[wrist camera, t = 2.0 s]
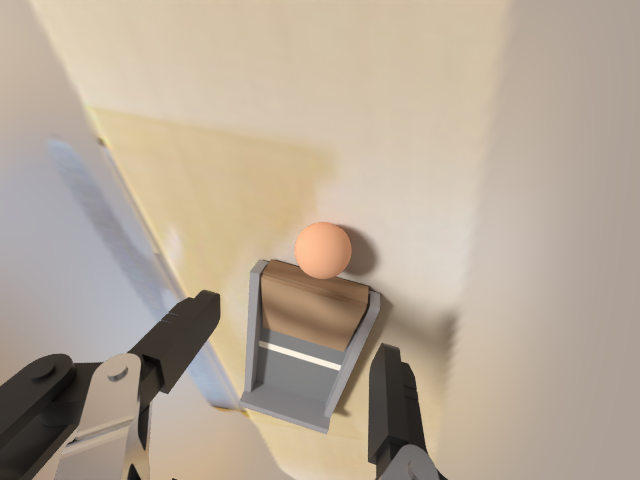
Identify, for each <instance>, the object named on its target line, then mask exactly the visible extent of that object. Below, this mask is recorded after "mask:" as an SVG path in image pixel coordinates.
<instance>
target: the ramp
mask: <svg viewBox="0 0 640 480" xmlns="http://www.w3.org/2000/svg"><path fill="white" fill-rule="evenodd" d="M261 287H262V312H263V328H266V329H269V330H272V331H276V332H279V333H282V334H286V335H289V336H292V337H296V338H299V339H302V340H306V341H309V342H312V343H315V344H319V345H322V346H325V347H329V348H332V349H335V350H339V351H342V352H344V350H345V348H346V347H347V345H348V343H349V341H350V339H351V337H352V335H353V333H354V331H355V329H356V327H357V325H358V324H359V322H360V320H361V318H362V316H363V314H364V312H365V310H366V307H367V303H368V288H369V286H365V285H362V284H358V283H355V282H351V281H347V280H344V279H340V278H337V277H332V278H329V279H318V278H314V277H311V276H309V275H308V274H306V273H305V272H304V271H303V270H302V269H301V268H300V267H297V266H294V265H290V264H287V263H283V262H280V261H276V260H272V259H271V261H270V262H269V264H268V265H267V267H266V268H265V270H264V271H263V276H262V278H261Z"/></svg>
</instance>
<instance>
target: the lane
mask: <svg viewBox="0 0 640 480" xmlns="http://www.w3.org/2000/svg"><path fill="white" fill-rule="evenodd" d="M268 264H269V262H266V261H263V260H258V262H257V263H256V265H255V266H254V267H253V269H252V270H251V271H250V285H249V306H248V327H247V347H246V368H245V388H244V392H243V395H242V397H241V399H240V406H242V407H245V408H248V409H251V410H254V411H257V412H260V413H263V414H266V415H269V416H272V417H275V418H278V419H281V420H284V421H287V422H290V423H293V424H296V425H299V426H302V427H305V428H308V429H311V430H315V431H318V432H321V433H324V434H327V432H328V430H329V423H330V418H331V416H332V413H333V411H334V409H335V407H336V405H337V402H338V400H339V398H340V396H341V394H342V391H343V389H344V387H345V385H346V383H347V381H348V378H349V376H350V374H351V372H352V370H353V367H354V365H355V363H356V361H357V359H358V357H359V354H360V352H361V350H362V348H363V346H364V343H365V341H366V339H367V337H368V335H369V332H370V330H371V328H372V326H373V324H374V322H375V319H376V317H377V315H378V313H379V311H380V293H376V292H373V291H369V290H368V303H367V307H366V310H365V312H364V314H363V316H362V318H361V320H360V322H359V324H358V325H357V327H356V329H355V331H354V333H353V335H352V337H351V339H350V341H349V343H348V345H347V347H346V348H345V350H344V352H342V351H339V350H335V349H332V348H329V347H325V346H322V345H319V344H315V343H312V342H309V341H306V340H302V339H299V338H296V337H292V336H289V335H286V334H282V333H279V332H276V331H272V330H269V329H266V328H263V312H262V287H261V278H262V276H263V271H264V270H265V268H266V267H267V265H268Z"/></svg>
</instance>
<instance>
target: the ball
mask: <svg viewBox="0 0 640 480" xmlns="http://www.w3.org/2000/svg"><path fill="white" fill-rule="evenodd" d="M351 253H352V248H351V243H350V240H349V238H348V236H347V234H346V233H345V232H344V231H343V230H342V229H341V228H340V227H338V226H337V225H335V224H332V223H328V222H318V223H314V224H312V225H310V226H308V227H306V228H305V229H304V230H303V231H302V232H301V233H300V235H299V236H298V238H297V241H296V244H295V257H296V260H297V263H298V265H299V266H300V268H301V269H302V270H303V271H304V272H305V273H306V274H308V275H309V276H311V277H314V278H318V279H329V278H332V277H335V276H337V275H339V274H340V273H341V272H343V271H344V269H345V268H346V267H347V265H348V264H349V261H350V259H351Z"/></svg>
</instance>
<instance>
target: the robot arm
mask: <svg viewBox="0 0 640 480" xmlns="http://www.w3.org/2000/svg"><path fill="white" fill-rule="evenodd" d="M219 320H220V295H219V294H218V293H214V292H211V291H207V290H202V291H201V292H200V293H199V294H198V295H197V296H196V297H195V298H194V299H193V298H190V297H188V298H187V299H185V300H183V301H181V302H179V303H177V304H176V305H175V306H174V307H173V308H172V309H171V310H170V311H169V313H168V314H166V315H165V316H164V317H163V318H162V319H161V321H159V322H158V323H157V324H156V325H155V326H154V327H153V328H152V329H151V330H150V331H149V332H148V333H147V334H146V335H145V336H144V337H143V338H142V339H141V340H140V341H139V342H138V343H137V344H136V345H135V346H134V347H133V348H132V349H131V350H130V351H128V352H127V353H126V354H120V355H117V356H114V357H112V358H110V359H108V360H106V361H105V362H100V363H73V361H72V359H71V358H70V357H69V356H68V355H65V354H52V355H48V356H45V357H42V358H39V359H38V360H35V361H33V362H32V363H30V364H28V365H27V366H26V367H24V368H23V369H22V370H20V371H19V372H18V373H17V374H15V375H14V376H13V377H12V378H10V379H9V380H8V381H7V382H5V383H4V384H3V385H2V386H0V480H32V479H33V477H34V476H35V475H36V474H37V473H38V472H39V470H40V469H41V468H42V467H43V466H44V465H45V464H46V462H47V461H48V460H49V459H50V458H51V457H52V456H53V454H54V453H55V452H56V451H57V450H58V449H59V447H60V446H61V445H62V444H63V443H64V442H65V440H66V439H67V438H68V437H69V436H70V435H71V434H72V433H73V431H74V430H75V429H76V428H77V427H78V426H79V427H78V431H77V434H76V437H75V439H74V440H73V441H72V442H70V443H68V444H67V445H66V447H65V448H64V450H63V453H62V455H61V458H60V462H59V464H58V468H57V471H56V474H55V478H54V480H150V466H149V441H150V428H151V427H150V426H151V414H152V400H153V398H154V397H155V396H156V394H157V393H158V392H159V391H161V392H163V393H167V394H168V393H169V392H170V391H171V389H172V388H173V386H174V385H175V384H176V382H177V381H178V379H179V378H180V377H181V375H182V374H183V373H184V371H185V370H186V368H187V367H188V366H189V364H190V363H191V361H192V360H193V359H194V357H195V356H196V355H197V353H198V352H199V350H200V349H201V348H202V346H203V345H204V343H205V342H206V341H207V339H208V338H209V337H210V335H211V334H212V332H213V331H214V330H215V328H216V327H217V325H218V323H219ZM416 390H417V387H416V381H415V376H414V374H413V372H412V370H411V368H410V366H409V364H408V363H404V362H401V357H400V350H399V348H398V347H394V346H391V345H388V344H384V343H382V344H381V345H380V347H379V349H378V351H377V353H376V355H375V357H374V359H373V361H372V364H371V367H370V374H369V427H368V462H369V463H372V464H375V465H376V478H375V480H448V479H446V478H445V477H444V476H443V475H442V474H441V473H440V472H439V471H438V470H437V468H436V467H435V465H434V463H433V461H432V460H431V458H430V457H429V455H428V452H427V449H426V445H425V439H424V433H423V426H422V420H421V413H420V407H419V403H418V394H417V391H416ZM172 480H176V479H174V478H173V479H172Z"/></svg>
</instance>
